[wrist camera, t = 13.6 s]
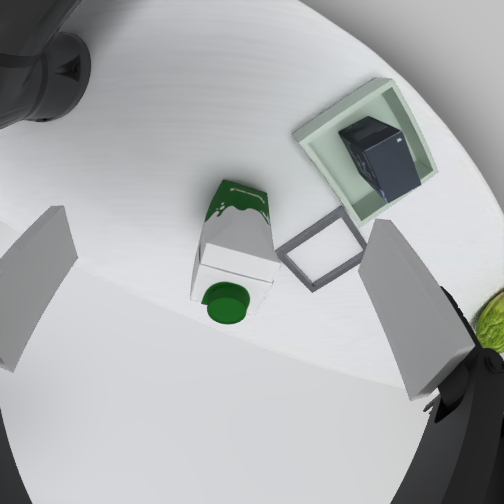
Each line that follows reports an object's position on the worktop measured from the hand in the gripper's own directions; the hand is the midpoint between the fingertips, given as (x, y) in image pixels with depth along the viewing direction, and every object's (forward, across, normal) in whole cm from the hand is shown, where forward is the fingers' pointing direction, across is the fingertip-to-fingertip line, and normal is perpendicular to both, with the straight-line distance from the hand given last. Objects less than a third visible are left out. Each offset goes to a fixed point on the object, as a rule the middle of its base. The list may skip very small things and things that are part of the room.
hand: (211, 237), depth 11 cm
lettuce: (+29, +81, -36) cm, 93 cm away
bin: (+30, +19, -2) cm, 36 cm away
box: (+30, +19, -1) cm, 35 cm away
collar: (+30, +17, -21) cm, 40 cm away
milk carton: (+30, +1, -13) cm, 33 cm away
